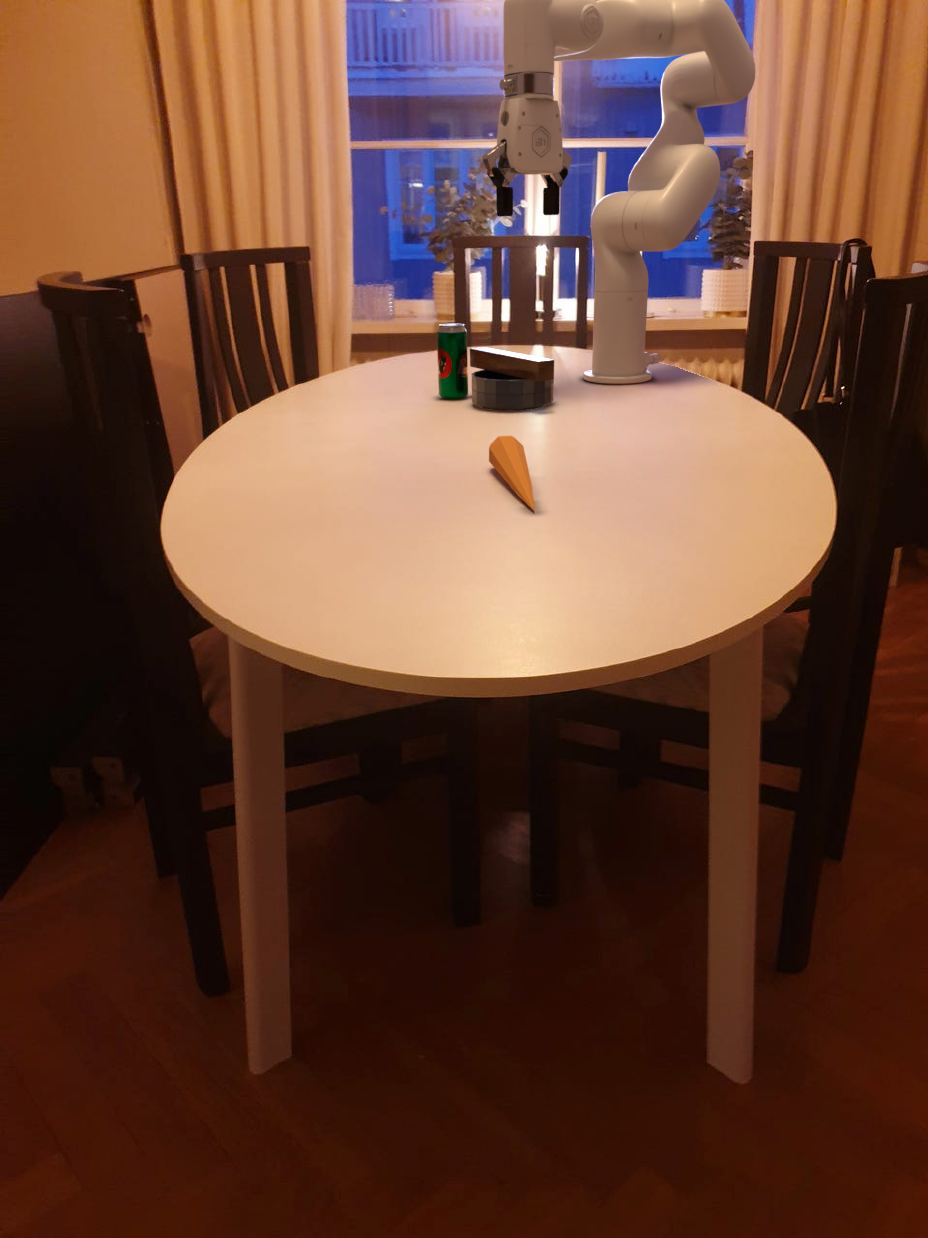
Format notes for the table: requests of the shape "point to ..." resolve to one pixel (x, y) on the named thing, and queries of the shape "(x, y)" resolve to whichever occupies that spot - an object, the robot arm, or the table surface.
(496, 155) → the robot arm
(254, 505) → the table surface
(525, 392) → the bowl
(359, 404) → the table surface
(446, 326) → the soda can
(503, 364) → the rectangular bar
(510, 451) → the carrot
